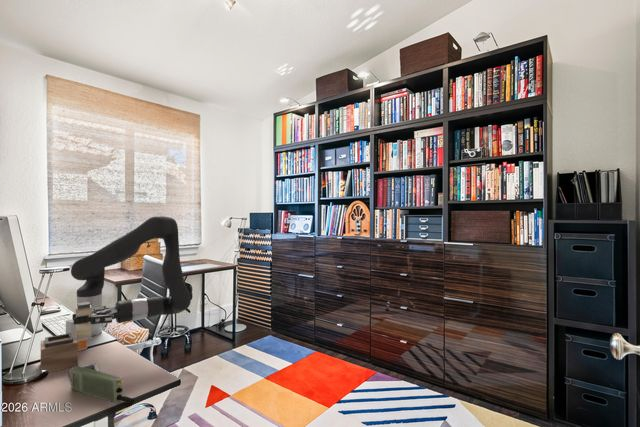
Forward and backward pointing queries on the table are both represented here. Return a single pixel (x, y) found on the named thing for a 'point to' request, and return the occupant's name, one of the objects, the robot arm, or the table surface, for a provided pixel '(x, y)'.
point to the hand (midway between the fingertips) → (73, 319)
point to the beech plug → (84, 328)
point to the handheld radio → (98, 384)
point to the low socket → (88, 368)
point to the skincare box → (72, 329)
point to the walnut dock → (59, 352)
